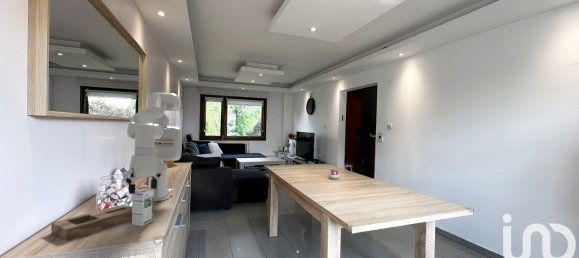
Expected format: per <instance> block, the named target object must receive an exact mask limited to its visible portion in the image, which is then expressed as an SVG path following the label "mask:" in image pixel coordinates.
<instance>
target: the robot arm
mask: <svg viewBox="0 0 579 258" xmlns="http://www.w3.org/2000/svg"><path fill="white" fill-rule="evenodd" d="M181 108H182V100H181V98H180V97H179V96H178V95H177V94H175V93H172V92H171V93H170V92H152V94H150V95H149V97H148V100H147V104H146V107H145V108H144V109H142V110H140V111H137V112H136V113H135V114H134V115H133V116H132V117H131V118H130V120H129V124H128V126H127V130H126V133H127V136H128V138H130V139H132V140H134V154H133V155H132V156H131V159H130V162H129V170H128V171H126V172H124V173H123V174H122V176H121V177H122V178H123V179H124V182H125V183H127V184H128V194H132V195H133V194H135V191H136V182H137V180H141V179H146V178H148V188H147V189H152V190H153V202H161V201H165V200H168V199H169V198H170V197H171V195H170V193H174V191H175V189H174V188H170V189H169V188H168V169H169V168H168V165H167V164H166V163H165V162H164V161H167V162H168V161H179V160H180V159H181V158H182V145H183V132H182V131H183V130H182V129H181V128H180V127H179V126H170V117H169V116H168V114H167V113H166V112H179V111H180V110H181ZM151 122H153V123H151ZM161 143H162V144H161ZM166 143H169V144H166ZM170 143H171V144H170Z"/></svg>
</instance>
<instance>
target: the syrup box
mask: <svg viewBox="0 0 579 258" xmlns="http://www.w3.org/2000/svg"><path fill="white" fill-rule="evenodd" d="M131 203H132V205H131V207H132V219H131V225H132V226H137V227H144V226H146V225H149V224H150V223H152V222H154V201H153V190H152V189H148V188H142V189H139V190H135V194H132V202H131Z"/></svg>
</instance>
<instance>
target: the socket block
mask: <svg viewBox="0 0 579 258" xmlns="http://www.w3.org/2000/svg"><path fill="white" fill-rule="evenodd" d="M120 205H121V206H118V205H115V206H116V207H114V206H110V207H111V208H110V207H109V208H108V207H107V208H103V209H100V210H99V209H98V210H96V211H92V212H89V213H84V214H81V215H77V216H72V217H69V218H65V219H61V220H57V221H54V222H51V230H50V231H51V234H53V235H54V236H56V237H58V238H60V239H63V240H65V241H70V240H72V239H76V238H79V237H82V236H85V235H88V234H91V233H94V232H98V231H100V230H104V229H107V228H109V227H113V226H116V225H119V224H122V223H125V222H127V221H128V222H129V221H132V206H130V205H126V204H123V205H122V204H120Z"/></svg>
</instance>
